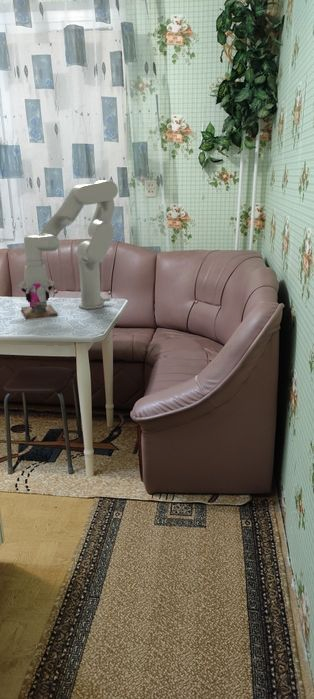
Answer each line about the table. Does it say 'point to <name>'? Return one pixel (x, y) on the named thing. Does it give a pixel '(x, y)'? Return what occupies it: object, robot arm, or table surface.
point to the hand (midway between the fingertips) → (37, 300)
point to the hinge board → (39, 311)
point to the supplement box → (37, 295)
